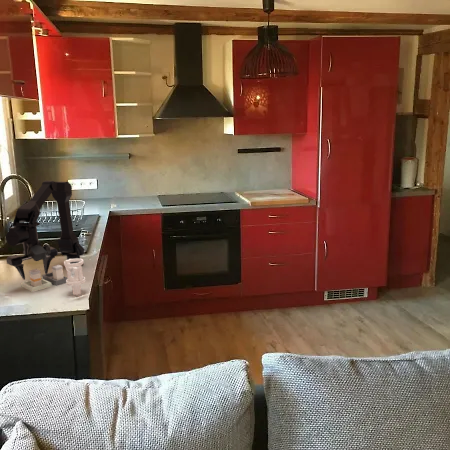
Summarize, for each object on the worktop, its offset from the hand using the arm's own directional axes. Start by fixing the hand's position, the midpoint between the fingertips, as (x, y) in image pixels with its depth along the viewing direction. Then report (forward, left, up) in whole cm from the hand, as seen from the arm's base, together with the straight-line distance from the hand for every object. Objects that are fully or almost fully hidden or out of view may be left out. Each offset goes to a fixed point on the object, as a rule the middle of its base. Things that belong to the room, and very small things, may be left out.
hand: (35, 276), depth 200 cm
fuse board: (0, +8, -5) cm, 9 cm away
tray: (0, 0, -5) cm, 5 cm away
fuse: (+3, +8, -4) cm, 10 cm away
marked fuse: (0, 0, -4) cm, 4 cm away
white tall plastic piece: (+21, +7, -5) cm, 22 cm away
